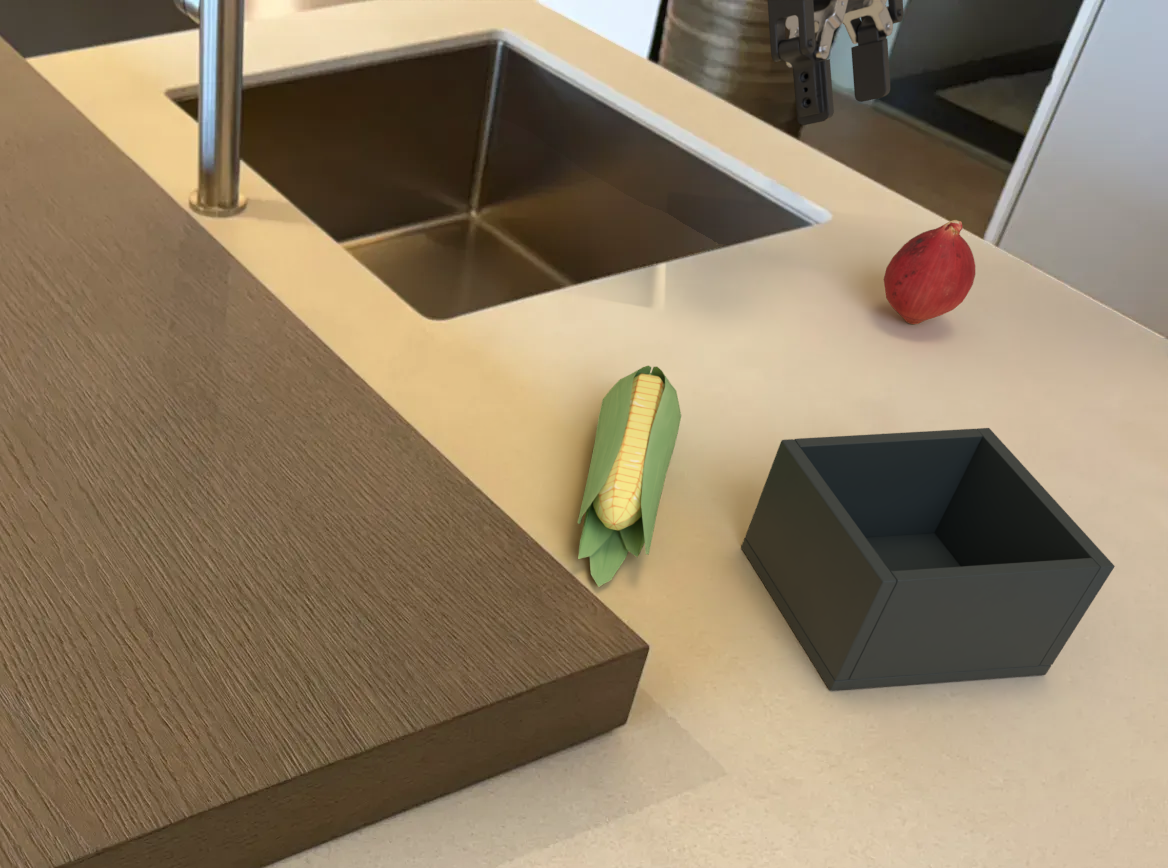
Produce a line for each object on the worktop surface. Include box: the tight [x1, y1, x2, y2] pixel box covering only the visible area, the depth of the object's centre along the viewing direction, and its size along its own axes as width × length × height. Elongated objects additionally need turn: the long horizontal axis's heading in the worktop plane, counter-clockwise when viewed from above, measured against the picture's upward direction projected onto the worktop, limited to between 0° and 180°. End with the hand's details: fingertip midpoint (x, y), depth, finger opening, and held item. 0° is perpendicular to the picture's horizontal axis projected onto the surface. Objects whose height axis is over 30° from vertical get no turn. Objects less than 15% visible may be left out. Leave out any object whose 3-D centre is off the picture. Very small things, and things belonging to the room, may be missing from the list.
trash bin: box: [740, 427, 1116, 692], centre depth 76 cm, size 13×13×8 cm
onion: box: [883, 219, 976, 325], centre depth 99 cm, size 6×6×8 cm
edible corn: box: [577, 365, 682, 588], centre depth 85 cm, size 5×20×5 cm, turn 161°
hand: (845, 110), depth 94 cm, fingers open, 8 cm apart
